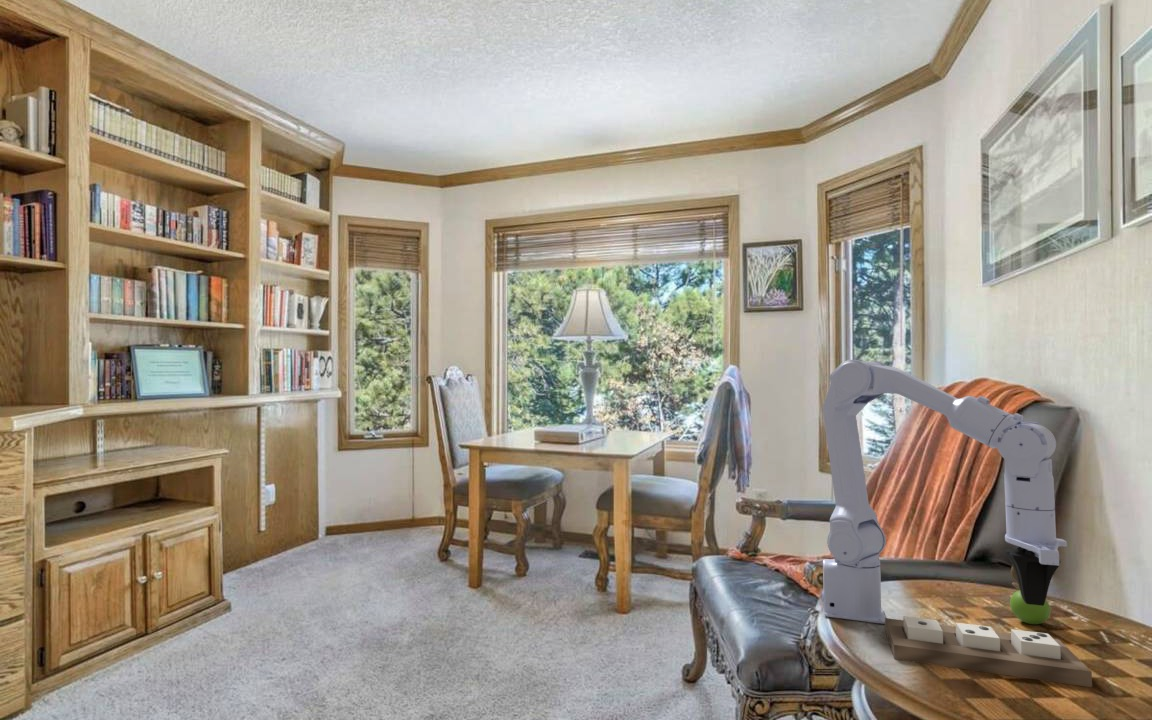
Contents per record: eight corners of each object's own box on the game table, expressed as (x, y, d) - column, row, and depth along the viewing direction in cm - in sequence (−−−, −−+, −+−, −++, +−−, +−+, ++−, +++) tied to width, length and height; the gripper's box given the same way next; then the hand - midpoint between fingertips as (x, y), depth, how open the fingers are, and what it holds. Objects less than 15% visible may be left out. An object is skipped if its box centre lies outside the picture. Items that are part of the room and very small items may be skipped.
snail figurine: (1065, 631, 97) (1062, 555, 97) (1020, 628, 98) (1017, 553, 99) (1046, 618, 102) (1043, 547, 103) (1004, 615, 103) (1001, 545, 104)
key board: (894, 658, 87) (894, 644, 87) (885, 630, 97) (885, 618, 97) (1092, 687, 78) (1091, 671, 78) (1059, 653, 88) (1058, 639, 89)
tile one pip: (908, 644, 89) (907, 626, 89) (903, 632, 93) (903, 615, 93) (943, 648, 87) (942, 630, 87) (937, 636, 91) (936, 619, 92)
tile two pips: (963, 651, 86) (962, 633, 86) (956, 639, 90) (955, 621, 91) (1000, 656, 85) (999, 637, 85) (991, 643, 89) (990, 626, 89)
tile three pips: (1021, 659, 84) (1020, 640, 84) (1011, 646, 88) (1010, 628, 88) (1061, 664, 82) (1060, 645, 82) (1048, 651, 86) (1048, 633, 86)
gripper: (1085, 519, 78) (1090, 625, 77) (1044, 500, 91) (1048, 591, 91) (1020, 515, 80) (1025, 618, 80) (990, 497, 94) (993, 585, 93)
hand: (1033, 603), depth 85 cm, fingers closed
